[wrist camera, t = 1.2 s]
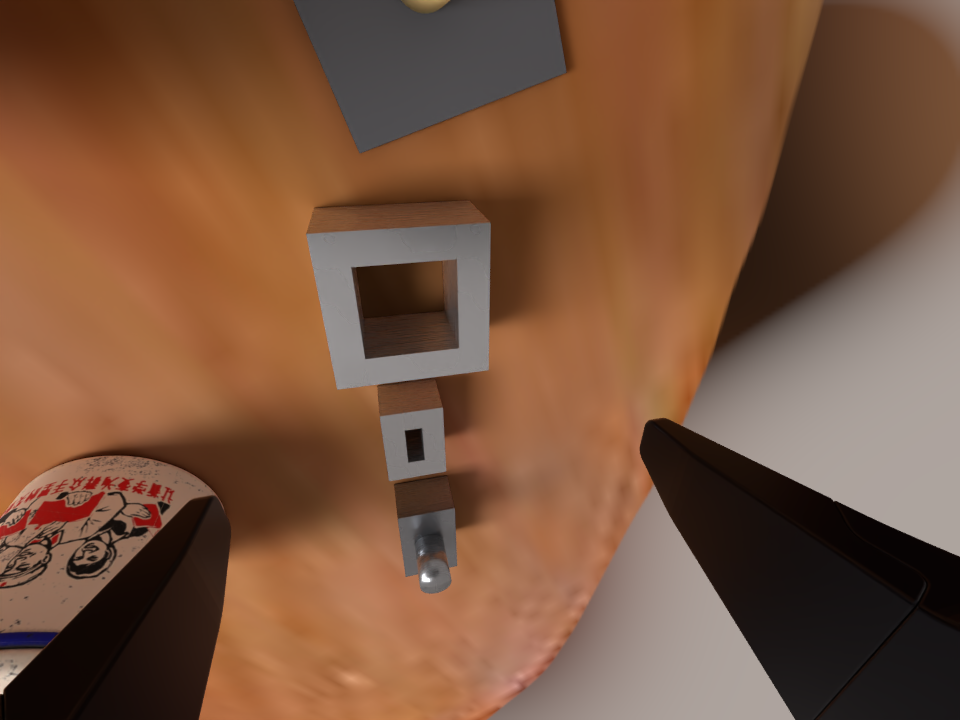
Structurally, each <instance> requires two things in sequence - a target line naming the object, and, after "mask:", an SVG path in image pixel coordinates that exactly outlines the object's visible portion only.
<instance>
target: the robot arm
mask: <svg viewBox="0 0 960 720" xmlns="http://www.w3.org/2000/svg"><path fill="white" fill-rule="evenodd" d="M640 455H641V458H642V460H643V462H644V464H645V466H646V468H647V470H648V472H649V474H650V476H651V479H652V481H653V483H654V485H655V487H656V489H657V491H658V493H659V495H660V497H661V499H662V501H663V503H664V505H665V507H666V509H667V511H668V513H669V515H670V517H671V518H672V520H673V522H674V524H675V525H676V527H677V529H678V530H679V532H680V533H681V535H682V537H683V538H684V540H685V542H686V543H687V545H688V546H689V548H690V550H691V551H692V553H693V555H694V556H695V558H696V559H697V561H698V563H699V564H700V566H701V567H702V569H703V571H704V572H705V574H706V576H707V577H708V579H709V581H710V582H711V583H712V585H713V587H714V589H715V590H716V592H717V593H718V595H719V597H720V598H721V600H722V601H723V603H724V605H725V606H726V608H727V610H728V611H729V613H730V615H731V616H732V618H733V619H734V621H735V623H736V624H737V626H738V627H739V629H740V631H741V632H742V634H743V636H744V637H745V639H746V641H747V642H748V644H749V645H750V647H751V649H752V650H753V652H754V653H755V655H756V657H757V658H758V660H759V661H760V663H761V665H762V666H763V668H764V670H765V671H766V673H767V675H768V676H769V678H770V679H771V681H772V683H773V684H774V686H775V688H776V689H777V691H778V692H779V694H780V696H781V697H782V699H783V701H784V702H785V704H786V705H787V707H788V708H789V710H790V712H791V713H792V715H793V717H794V718H795V720H960V557H959V556H957V555H954V554H952V553H950V552H947V551H945V550H943V549H940V548H938V547H936V546H933V545H931V544H929V543H926V542H924V541H922V540H919V539H917V538H915V537H913V536H910V535H908V534H906V533H903V532H901V531H899V530H897V529H894V528H892V527H890V526H888V525H885V524H883V523H881V522H879V521H877V520H875V519H873V518H870V517H868V516H866V515H864V514H862V513H860V512H858V511H856V510H854V509H852V508H849V507H847V506H846V505H843V504H841V503H839V502H837V501H834V502H833V500H832V499H831V498H829V497H827V496H825V495H823V494H821V493H819V492H816V491H814V490H812V489H810V488H808V487H806V486H804V485H802V484H800V483H798V482H796V481H794V480H792V479H790V478H788V477H786V476H784V475H781V474H780V473H777V472H776V471H773V470H771V469H769V468H767V467H765V466H763V465H761V464H759V463H757V462H755V461H753V460H751V459H749V458H747V457H745V456H743V455H740V454H738V453H736V452H734V451H732V450H730V449H728V448H726V447H724V446H722V445H720V444H717V443H716V442H714V441H712V440H709V439H708V438H706V437H704V436H702V435H699V434H697V433H695V432H693V431H691V430H689V429H687V428H685V427H683V426H681V425H679V424H677V423H675V422H673V421H671V420H669V419H666V418H659V419H653V420H649V421H647V423H646V424H645V427H644V432H643V436H642V440H641V444H640ZM230 539H231V527H230V523H229V520H228V518H227V516H226V514H225V511H224V509H223V507H222V505H221V502H220V500H219V499H218V497H217V496H215V495H209V496H203V497H198V498H193V499H191V500H190V501H188V502H187V503H186V504H185V505H184V506H183V507H182V508H181V509H180V510H179V511H178V512H177V513H176V514H175V515H174V516H173V517H172V518H171V519H170V520H169V521H168V523H167V524H166V525H165V526H164V527H163V528H162V529H161V530H160V531H159V532H158V533H157V534H156V535H155V536H154V537H153V538H152V539H151V540H150V541H149V542H148V543H147V544H146V545H145V546H144V547H143V548H142V549H141V550H140V551H139V552H138V553H137V554H136V555H135V556H134V557H133V558H132V559H131V560H130V561H129V562H128V563H127V564H126V565H125V566H124V567H123V568H122V569H121V570H120V571H119V572H118V573H117V574H116V575H115V576H114V577H113V578H112V579H111V580H110V581H109V582H108V583H107V584H106V586H105V587H104V588H103V589H102V590H101V591H100V592H99V593H98V594H97V595H96V596H95V597H94V598H93V599H92V600H91V601H90V602H89V603H88V604H87V605H86V606H85V607H84V608H83V609H82V610H81V611H80V612H79V613H78V614H77V615H76V616H75V617H74V618H73V619H72V620H71V621H70V622H69V623H68V624H67V625H66V626H65V627H64V628H63V629H62V630H61V631H60V632H59V633H58V634H57V635H56V636H55V637H54V638H53V639H52V640H51V641H50V642H49V643H48V644H47V645H46V646H45V647H44V649H43V650H42V651H41V652H40V653H39V654H38V655H37V656H36V657H35V658H34V659H33V660H32V661H31V662H30V663H29V664H28V665H27V666H26V667H25V668H24V669H23V670H22V671H21V672H20V673H19V674H18V675H17V676H16V677H15V678H14V679H13V680H12V681H11V682H10V683H9V684H8V685H7V686H6V687H5V688H4V690H3V694H0V720H199V716H200V712H201V707H202V703H203V698H204V694H205V690H206V685H207V681H208V676H209V672H210V667H211V663H212V659H213V654H214V650H215V645H216V641H217V637H218V632H219V628H220V623H221V617H222V611H223V604H224V595H225V586H226V577H227V567H228V558H229V549H230Z"/></svg>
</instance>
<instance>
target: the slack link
mask: <svg viewBox="0 0 960 720" xmlns="http://www.w3.org/2000/svg"><path fill="white" fill-rule="evenodd" d="M377 388H378V400H379V413H380V421H381V428H382V435H383V442H384V449H385V456H386V463H387V470H388V477H389V481H394V480H399V479H405V478H411V477H417V476H423V475H429V474H435V473H440V472H446V459H445V439H444V420H443V406H442V402H441V399H440V395H439V392H438V388H437V384H436V381H435V379H428V380H420V381H412V382H404V383H396V384H389V385H381V386H377Z"/></svg>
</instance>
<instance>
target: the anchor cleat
mask: <svg viewBox="0 0 960 720" xmlns="http://www.w3.org/2000/svg"><path fill="white" fill-rule="evenodd" d="M394 486H395V496H396V506H397V516H398V524H399V531H400V538H401V545H402V553H403V560H404V567H405V574H406V577H407V576H412V575H417V574H419V582H420V588H421V590H422V591H423V592H425V593H430V594H432V593H438V592H441V591H443V590H445V589H446V588H448V587H449V586H450V584H451V576H450V571H449V567H454V566H457V552H456V526H455V507H454V503H453V499H452V494H451V490H450V486H449V482H448V478H447V476H442V477H436V478H430V479H424V480H418V481H413V482H407V483H401V484H395V485H394Z"/></svg>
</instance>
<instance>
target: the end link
mask: <svg viewBox="0 0 960 720" xmlns="http://www.w3.org/2000/svg"><path fill="white" fill-rule="evenodd" d="M306 235H307V240H308V245H309V250H310V255H311V260H312V265H313V270H314V275H315V280H316V285H317V290H318V295H319V300H320V305H321V310H322V315H323V320H324V325H325V330H326V335H327V340H328V345H329V350H330V355H331V360H332V365H333V370H334V375H335V380H336V385H337V390H338V389H346V388H354V387H361V386H369V385H377V384H385V383H393V382H400V381H408V380H416V379H424V378H432V377H440V376H447V375H455V374H463V373H471V372H479V371H486V370H489V307H490V239H491V222H490V221H489V220H488V219H487V218H486V217H485V216H484V215H483V214H482V213H481V212H480V211H479V210H478V209H477V208H476V207H475V206H474V205H473V204H472V203H471V202H470V201H469V200H464V201H444V202H424V203H404V204H384V205H365V206H345V207H325V208H314V210H313V214H312V217H311V220H310V224H309V227H308V230H307V233H306ZM428 261H442V267H443V291H444V311H437V312H426V313H416V314H406V315H396V316H386V317H376V318H366V319H363V312H362V305H361V299H360V292H359V285H358V278H357V272H356V267H363V266H376V265H389V264H402V263H415V262H428Z"/></svg>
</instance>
